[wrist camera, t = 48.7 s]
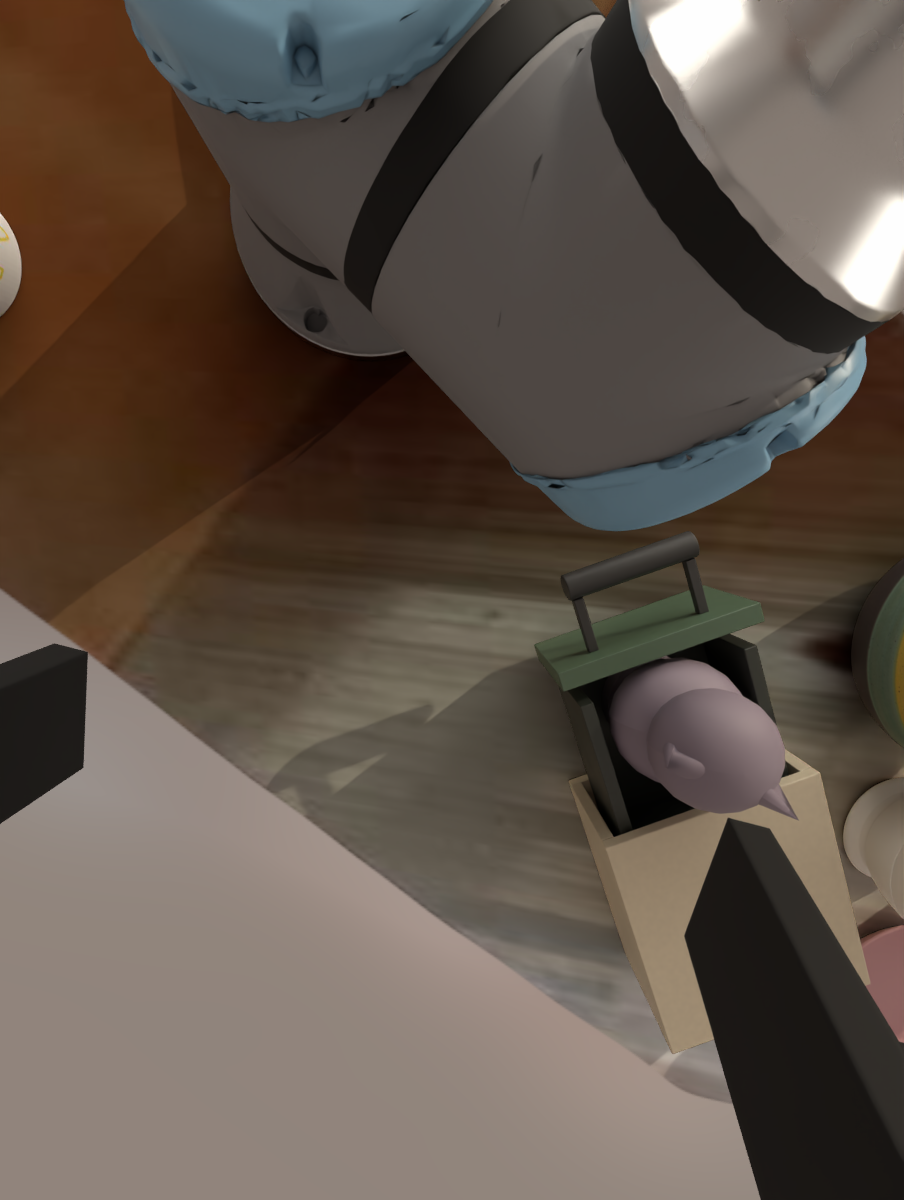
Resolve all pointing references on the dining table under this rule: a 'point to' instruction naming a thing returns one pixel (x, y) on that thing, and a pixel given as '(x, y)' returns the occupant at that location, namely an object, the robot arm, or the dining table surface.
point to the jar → (879, 839)
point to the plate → (887, 974)
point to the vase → (882, 653)
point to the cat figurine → (696, 736)
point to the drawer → (631, 640)
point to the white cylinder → (8, 266)
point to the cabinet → (675, 878)
